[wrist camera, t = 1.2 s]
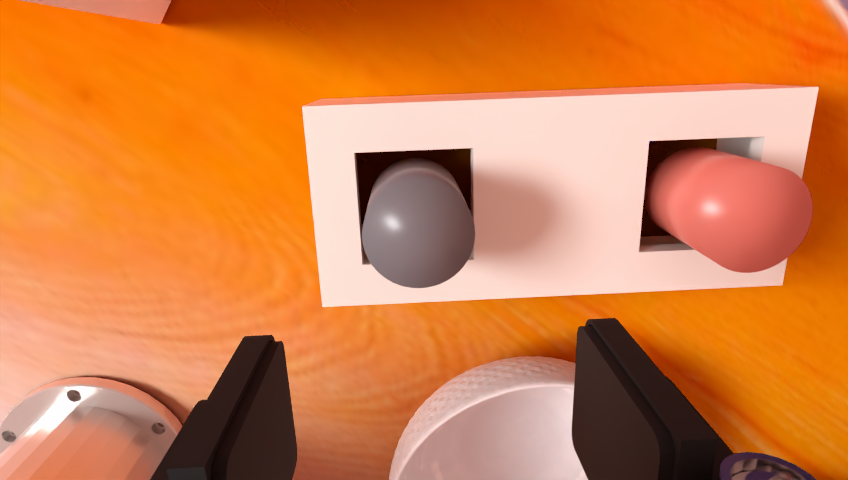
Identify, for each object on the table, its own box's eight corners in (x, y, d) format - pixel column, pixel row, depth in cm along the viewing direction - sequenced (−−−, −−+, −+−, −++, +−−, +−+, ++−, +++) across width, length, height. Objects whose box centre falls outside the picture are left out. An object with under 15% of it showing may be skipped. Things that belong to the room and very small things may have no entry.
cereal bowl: (495, 563, 41) (514, 660, 34) (338, 433, 37) (324, 514, 30) (676, 431, 38) (734, 508, 31) (526, 273, 34) (557, 324, 27)
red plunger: (727, 232, 28) (801, 270, 23) (641, 236, 28) (695, 275, 23) (740, 144, 27) (822, 163, 22) (649, 148, 27) (709, 168, 21)
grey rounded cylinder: (461, 244, 28) (475, 285, 23) (372, 248, 28) (365, 290, 23) (460, 155, 26) (474, 177, 21) (366, 159, 26) (358, 182, 21)
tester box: (718, 248, 34) (782, 285, 28) (336, 265, 33) (322, 306, 28) (741, 83, 31) (818, 86, 25) (320, 98, 30) (302, 106, 25)
